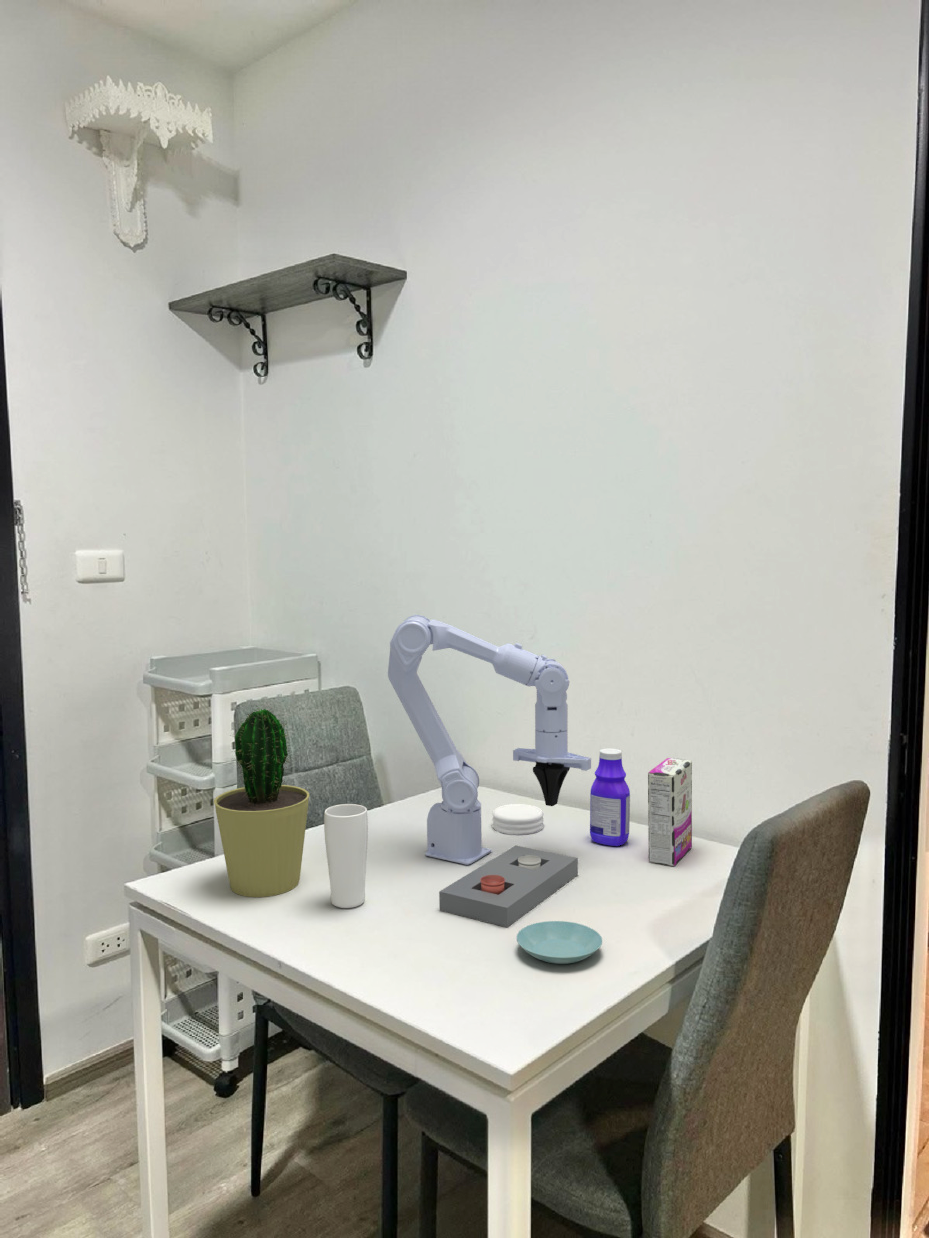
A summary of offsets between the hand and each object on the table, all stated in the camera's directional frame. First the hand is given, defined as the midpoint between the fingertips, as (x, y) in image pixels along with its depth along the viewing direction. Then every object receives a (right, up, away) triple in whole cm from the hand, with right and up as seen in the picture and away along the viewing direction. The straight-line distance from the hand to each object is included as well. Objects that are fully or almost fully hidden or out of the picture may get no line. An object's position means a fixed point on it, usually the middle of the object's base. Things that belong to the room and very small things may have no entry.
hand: (551, 804), depth 164 cm
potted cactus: (-49, -11, -11) cm, 51 cm away
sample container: (-5, -10, -10) cm, 15 cm away
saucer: (-2, -14, -36) cm, 39 cm away
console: (-8, -11, -15) cm, 20 cm away
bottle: (+12, -9, +8) cm, 16 cm away
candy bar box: (+21, -9, +1) cm, 23 cm away
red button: (-11, -10, -20) cm, 25 cm away
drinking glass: (-34, -12, -19) cm, 41 cm away
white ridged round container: (-5, -8, +17) cm, 20 cm away
